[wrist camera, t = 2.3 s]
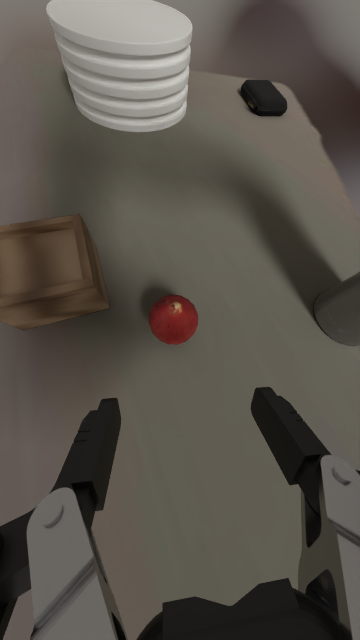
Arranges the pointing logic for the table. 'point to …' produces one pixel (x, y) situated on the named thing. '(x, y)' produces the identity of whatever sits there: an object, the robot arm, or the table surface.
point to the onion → (173, 319)
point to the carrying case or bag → (263, 98)
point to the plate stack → (124, 60)
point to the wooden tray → (49, 272)
